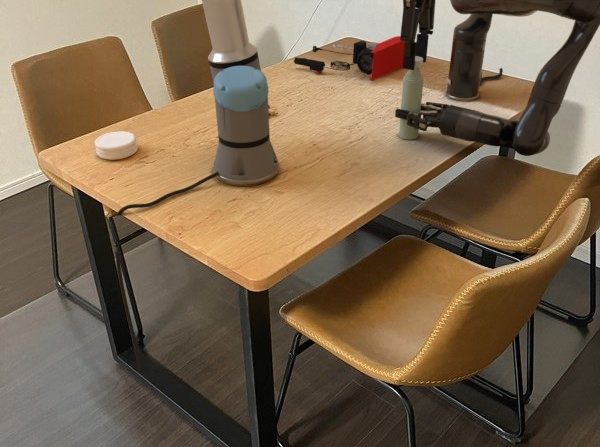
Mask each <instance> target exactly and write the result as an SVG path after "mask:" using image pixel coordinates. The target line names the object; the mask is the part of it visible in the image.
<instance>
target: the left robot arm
mask: <svg viewBox="0 0 600 447" xmlns="http://www.w3.org/2000/svg"><path fill="white" fill-rule="evenodd" d="M201 3H202V8H203V12H204V16H205V20H206V25H207V29H208V33H209V39H210V43H211V48H212V50H211V52H210V53H209V55H208V56H207V59H208V64H209V69H210V72H211V77H212V81H213V82H212V83H213V87H212V92H213V97H214V103H215V105H214V106H215V115H216V126H217V135H218V145H217V149H216V153H215V159H214V162H213V167H212V168H213V173H212V174H210V175H208V176H206V177H204V178H202V179H200V180H198V181H196V182H195V183H193V184H191V185H188V186H186V187H184V188H180V189H177V190H174V191H171V192H169V193H166V194H164V195H162V196H161V197H158V198H156V199H155V200H153V201H150V202H147V203H131V204H127V205H124V206H122V207H121V208H120V209H119V210H118V211H117V213H116V214H115V216H122V214H123V213H124V212H125V211H127V210H130V209H139V208H140V209H141V208H143V209H144V208H149V207H153V206H155V205H157V204H159V203H161V202H163V201H165V200H166V199H168V198H170V197H173V196H177V195H180V194H183V193H185V192H188V191H191V190H193V189H195V188H196V187H197V188H198V187H199V186H200V185H202V184H204V183H206V182H208V181H210V180H211V179H214V178H215V179H217V181H219V182H220V183H223V184H225V185H228V186H229V185H230V186H234V187H251V186H252V187H253V186H257V185H261V184H265V183H267V182H269V181H271V180H273V179H274V178H275V177H276V176H277V175H278V174H279V171H280V166H279V164H280V163H279V160H278V156H277V154H276V151H275V149H274V146H273V144H272V142H271V138H270V136H271V135H270V134H271V133H270V117H269V116H270V114H269V112H268V105H269V84H268V80H267V79H268V78H267V76H266V75H265V73H264V72H263V71H262V69H261V64H260V58H259V57H260V56H259V53H258V48H257V46H255V45H254V44H252V43H251V42H250V40H249V35H248V29H247V23H246V19H245V18H246V17H245V14H244V9H243V4H242V0H201ZM402 4H403V5H402V6H403V8H402V16H401V17H402V18H401V25H400V26H401V28H400V35H399V36H400V41H402V42H405V44H404V57H403V67H402V69H404V70H414V66H415V56H419V57H422V58H423V63H427V58H428V47H429V35H430V36H432V35H433V34H434V26H435V11H436V0H402ZM417 32H418V33H417ZM114 252H115V262H116V270H117V277H118V283H119V288H120V294H121V298H122V302H123V307H124V312H125V316H126V319H127V323H128V328H129V332H130V335H131V341H132V344H133V349H134V353H135V358H136V359H135V360H136V364H137V369H138V372H139V373H142V372H143V367H142V361H141V357H140V351H139V347H138V343H137V339H136V333H135V330H134V325H133V321H132V316H131V312H130V309H129V308H130V307H129V303H128V299H127V296H126V295H127V294H126V290H125V284H124V279H123V273H122V267H121V266H122V265H121V258H120V257H121V256H120V254H119V253H118V251H116V250H115V251H114Z"/></svg>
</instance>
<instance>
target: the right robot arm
mask: <svg viewBox="0 0 600 447" xmlns="http://www.w3.org/2000/svg"><path fill="white" fill-rule="evenodd" d="M449 1H450V5H451V7H452V9H453V10H454V11H455V12H456V13H458V14H460V15H469V16H468V17H467V18H466V19H465V20H464V21H462V22H460V23H459V24H457V25H456V26H455V27H454V28H453V32H452V33H453V35H452V43H451V52H450V60H449V67H448V68H449V69H448V76H447V77H446V83H447V85H446V91H445V96H446V97H447V98H449V99H451V100H454V101H461V102H469V101H474V100H476V99H478V98H479V96H480V95H479V94H480V93H479V92H480V86H481V85H482V83H483V82H484V81H487V80H496V79H500V78H501V77H502V75H503V72H504V71H503V68H502V67H500V68H499V72H498V74H497V75H489V76H483V71H482V70H483V65H484V58H485V50H486V45H487V38H488V33H489V31H490V29H491V26H492V21H493V15H499V16H506V17H516V18H517V17H519V18H521V17H529V16H532V15H534V14H535V13H537V12H543V13H548V14H553V15H556V16H559V17H562V18H565V19H569V20H572V21H574V22H573V26H572V28H571V31H570V33H569V35H568V37H567V39H566V40H565V41H564V43H563V44H562V45H561V47H560V48H559V49H558V50H557V51H556V52H555V53H554V54H553V55H552V56H551V57H550V58H549V60H547V61H546V62H545V63H544V65H543V67H541V69H540V70H539V72H538V74H537V76H536V78H535V80H534V83H533V86H532V89H531V91H530V93H529V94H530V95H529V98H528V101H527V103H526V106H525V108H524V109H523V112H522V113H521V116H520V117H519V120H513V119H508V118H505V117H501V116H499V115H494V114H489V113H484V112H481V111H479V110H476V109H471V108H467V107H463V106H457V105H453V104H447V103H440V102H432V101H426V102H425V103H421V111H419V112H410V111H407V110H402V109H401V108H396V109H395V111H394V116H395V118H396V119H399V120H400V119H404V120H407V125H409V126H411V127H414V128H416V129H419V131H422V132H427V131H428V128H436V129H437V128H438V130H439V132H440V134H441V135H442V136H446V137H449V138H454V139H457V140H461V141H465V142H472V143H473V142H474V143H479V144H482V145H487V146H490V147H505V148H508V149H512V150H514V151H515V152H516V153H517V154H518V155H520V156H525V157H530V156H535V155H538V154H541V153H542V152H544V151H546V149H547V148H548V147H549V145H550V143H551V134H550V132H549V128H550V126H551V123H552V121H553V119H554V117H556V115H557V114H559V111H560V108H561V107H562V104H563V101H564V98H565V96H566V93H567V90H568V88H569V85H570V83H571V80H572V78H573V76H574V73H575V71H576V69H577V67H578V66H579V63H580V62H581V60H582V58H583V56H584V55H585V53H586V51H587V49H588V48H589V46H590V44H591V42H592V41H593V39H594V36H595V34H596V33H597V31H598V29H599V28H600V0H449ZM416 116H418V117H416Z"/></svg>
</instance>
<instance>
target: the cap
mask: <svg viewBox="0 0 600 447" xmlns="http://www.w3.org/2000/svg"><path fill="white" fill-rule="evenodd" d="M423 65H424V62H423V58H422V57H419V56H415V66H414V68H420V69H421V68H422V67H423Z"/></svg>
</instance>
